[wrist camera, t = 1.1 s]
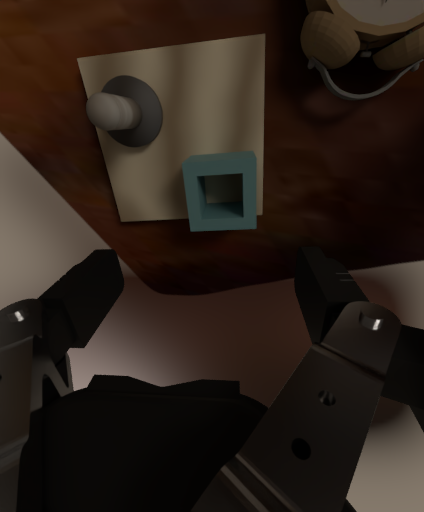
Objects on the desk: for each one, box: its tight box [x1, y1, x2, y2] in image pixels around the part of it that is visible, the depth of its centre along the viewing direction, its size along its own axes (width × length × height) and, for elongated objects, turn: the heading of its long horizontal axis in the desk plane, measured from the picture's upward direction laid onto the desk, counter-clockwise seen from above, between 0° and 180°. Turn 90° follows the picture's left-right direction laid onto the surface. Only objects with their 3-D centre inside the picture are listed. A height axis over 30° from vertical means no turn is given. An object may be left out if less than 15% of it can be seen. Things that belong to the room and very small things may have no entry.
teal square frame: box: [182, 151, 257, 232], centre depth 23 cm, size 6×6×5 cm
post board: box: [77, 34, 265, 222], centre depth 22 cm, size 16×15×8 cm
